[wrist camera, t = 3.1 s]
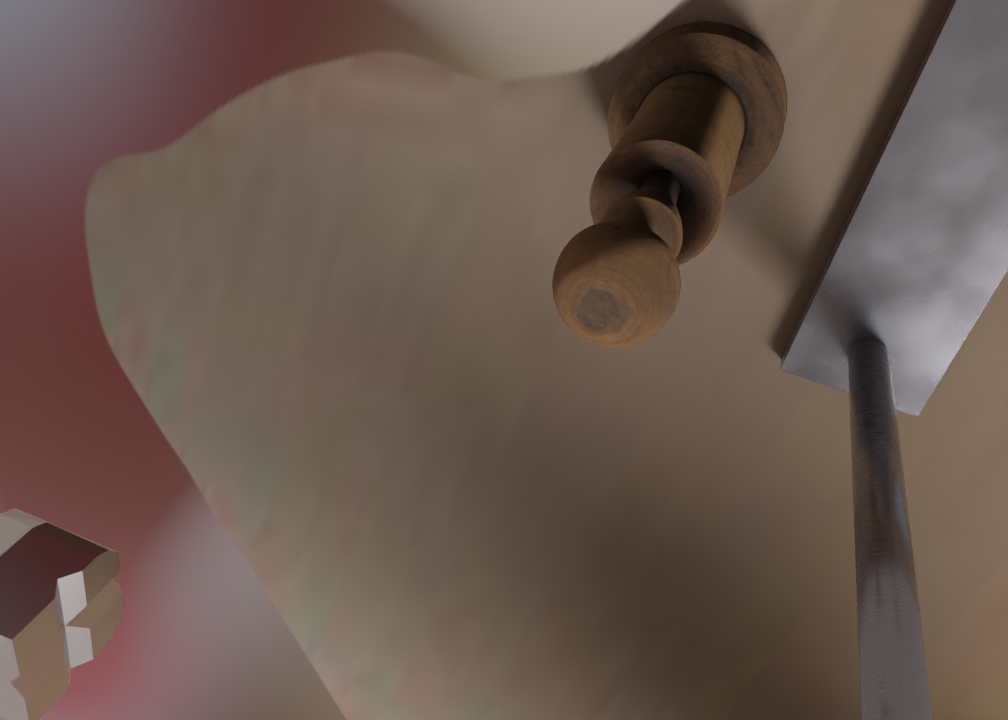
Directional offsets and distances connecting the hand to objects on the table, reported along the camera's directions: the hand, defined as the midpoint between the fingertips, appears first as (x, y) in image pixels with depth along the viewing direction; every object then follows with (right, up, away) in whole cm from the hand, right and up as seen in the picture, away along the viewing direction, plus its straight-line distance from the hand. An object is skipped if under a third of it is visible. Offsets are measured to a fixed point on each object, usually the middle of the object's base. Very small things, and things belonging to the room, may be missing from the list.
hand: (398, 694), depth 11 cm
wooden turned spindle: (+9, +14, +23) cm, 29 cm away
